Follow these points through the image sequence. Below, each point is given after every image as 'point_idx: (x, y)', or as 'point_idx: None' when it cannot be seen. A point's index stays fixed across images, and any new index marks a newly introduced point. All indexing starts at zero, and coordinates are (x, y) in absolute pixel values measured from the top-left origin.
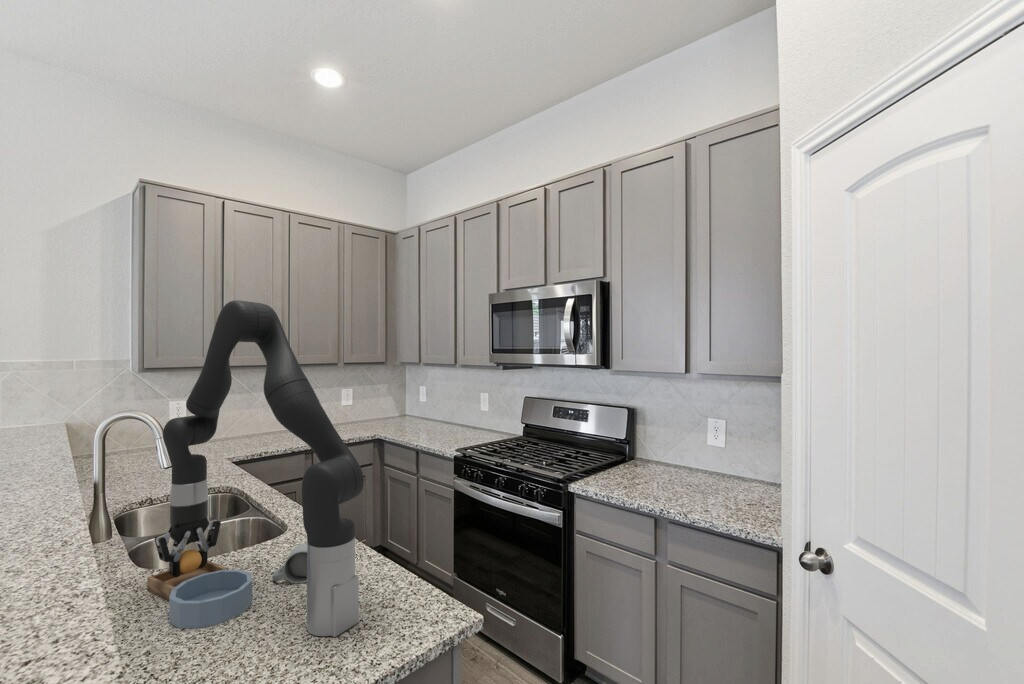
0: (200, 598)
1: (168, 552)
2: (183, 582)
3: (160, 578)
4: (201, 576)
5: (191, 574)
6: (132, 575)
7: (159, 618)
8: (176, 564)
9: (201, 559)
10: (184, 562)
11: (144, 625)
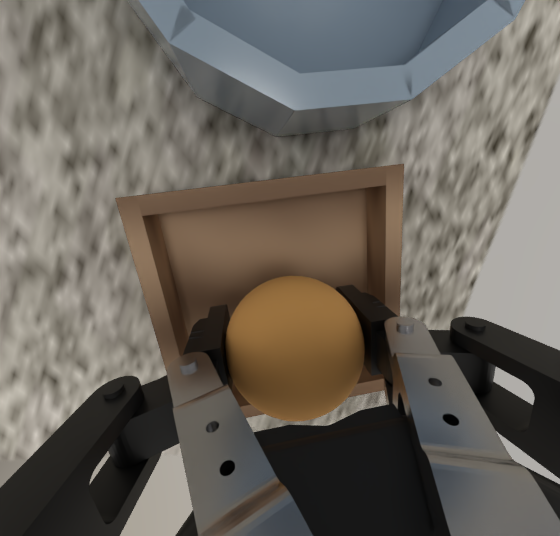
0: (316, 59)
1: (519, 360)
2: (425, 76)
3: None
4: (319, 72)
5: None
6: None
7: (456, 80)
8: (381, 312)
9: (233, 315)
10: (344, 303)
11: (506, 71)
